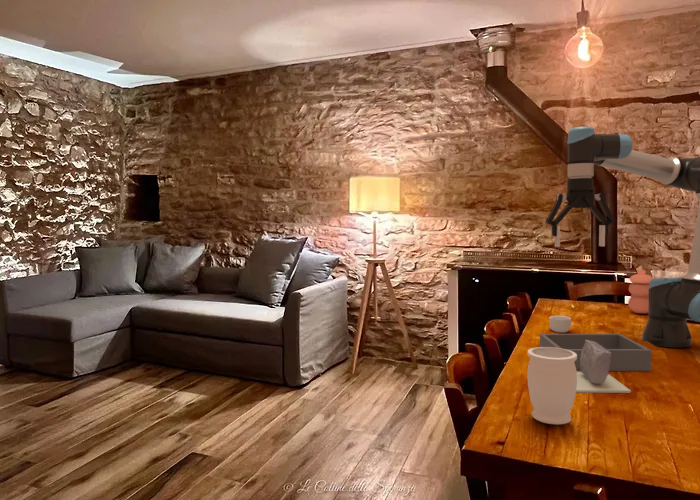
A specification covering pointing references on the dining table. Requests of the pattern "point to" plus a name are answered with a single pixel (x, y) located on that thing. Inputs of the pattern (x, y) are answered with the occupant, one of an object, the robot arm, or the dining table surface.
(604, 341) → the access frame
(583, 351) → the stone block
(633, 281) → the ceramic vessels
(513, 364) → the dining table surface
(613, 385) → the board
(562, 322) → the teacup
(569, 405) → the jar
